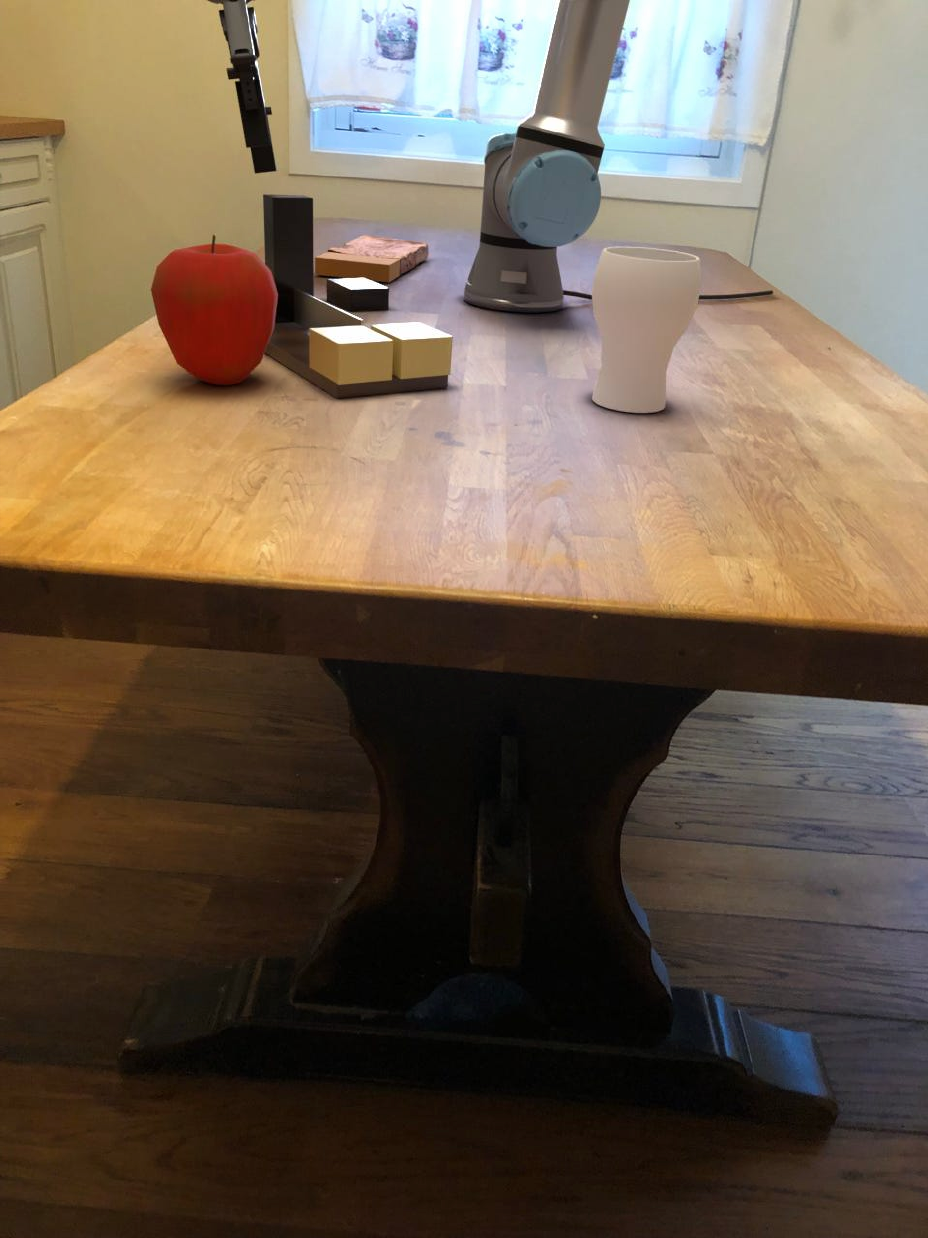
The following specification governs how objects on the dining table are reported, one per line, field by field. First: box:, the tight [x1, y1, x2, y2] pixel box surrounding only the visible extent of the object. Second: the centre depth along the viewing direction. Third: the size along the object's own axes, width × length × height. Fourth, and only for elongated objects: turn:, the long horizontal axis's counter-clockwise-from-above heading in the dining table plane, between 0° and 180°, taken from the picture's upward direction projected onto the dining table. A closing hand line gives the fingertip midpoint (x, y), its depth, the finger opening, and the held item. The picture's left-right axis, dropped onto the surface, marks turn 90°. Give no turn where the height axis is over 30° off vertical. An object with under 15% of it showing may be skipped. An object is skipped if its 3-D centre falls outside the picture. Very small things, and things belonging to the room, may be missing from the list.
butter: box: [309, 321, 454, 385], centre depth 99 cm, size 7×13×4 cm, turn 122°
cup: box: [591, 245, 702, 414], centre depth 97 cm, size 11×11×15 cm
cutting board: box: [264, 323, 449, 399], centre depth 110 cm, size 34×13×2 cm, turn 32°
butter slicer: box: [262, 194, 364, 330], centre depth 107 cm, size 21×5×14 cm, turn 32°
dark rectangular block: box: [326, 278, 390, 312], centre depth 136 cm, size 8×6×3 cm
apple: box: [150, 234, 278, 386], centre depth 94 cm, size 12×12×14 cm
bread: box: [314, 234, 430, 283], centre depth 166 cm, size 13×30×3 cm, turn 169°
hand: (262, 159), depth 112 cm, fingers open, 13 cm apart
